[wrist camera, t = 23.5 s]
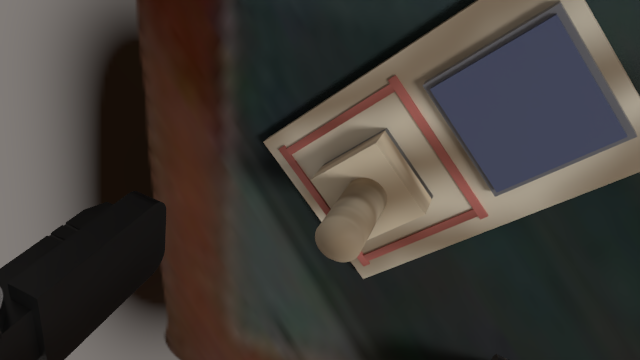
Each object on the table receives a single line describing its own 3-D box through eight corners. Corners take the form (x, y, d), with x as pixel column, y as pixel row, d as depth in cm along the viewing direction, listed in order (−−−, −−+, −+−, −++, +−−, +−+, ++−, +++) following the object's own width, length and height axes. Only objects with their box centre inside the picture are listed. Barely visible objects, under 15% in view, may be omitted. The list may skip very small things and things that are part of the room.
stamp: (323, 163, 41) (275, 221, 34) (387, 127, 37) (347, 182, 30) (368, 225, 42) (329, 293, 35) (433, 195, 38) (405, 263, 31)
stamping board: (268, 137, 43) (262, 143, 42) (555, -53, 30) (555, -51, 29) (366, 271, 45) (362, 280, 44) (670, 151, 32) (674, 160, 31)
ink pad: (424, 81, 35) (421, 87, 34) (560, 0, 30) (560, 4, 29) (496, 191, 36) (494, 199, 35) (636, 131, 31) (638, 139, 30)
